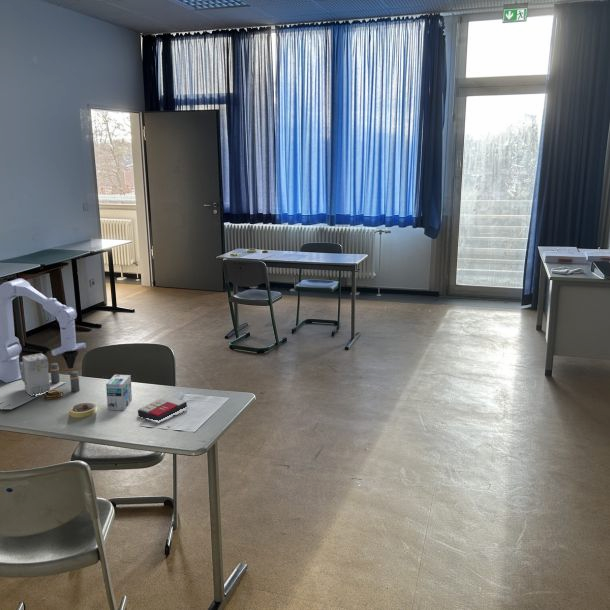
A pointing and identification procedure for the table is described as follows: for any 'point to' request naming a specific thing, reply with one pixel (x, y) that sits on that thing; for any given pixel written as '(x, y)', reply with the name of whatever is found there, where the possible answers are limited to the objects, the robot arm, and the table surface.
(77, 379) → the post
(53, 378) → the left cable post
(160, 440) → the table surface
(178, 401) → the red black flat box
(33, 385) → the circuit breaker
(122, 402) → the light bulb box
